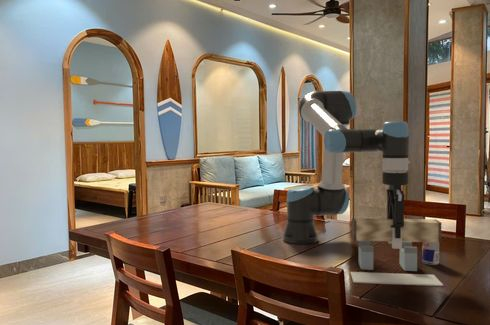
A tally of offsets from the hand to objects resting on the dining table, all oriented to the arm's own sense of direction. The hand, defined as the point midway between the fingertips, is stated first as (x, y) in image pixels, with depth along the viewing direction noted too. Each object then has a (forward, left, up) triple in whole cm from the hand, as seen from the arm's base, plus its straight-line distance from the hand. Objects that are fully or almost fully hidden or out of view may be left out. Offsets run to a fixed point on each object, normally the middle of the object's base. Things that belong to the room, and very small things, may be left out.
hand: (394, 245), depth 126 cm
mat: (0, 0, -11) cm, 11 cm away
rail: (0, 0, +2) cm, 2 cm away
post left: (-7, +13, -11) cm, 18 cm away
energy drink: (+16, +19, -11) cm, 27 cm away
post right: (+7, +13, -11) cm, 18 cm away
